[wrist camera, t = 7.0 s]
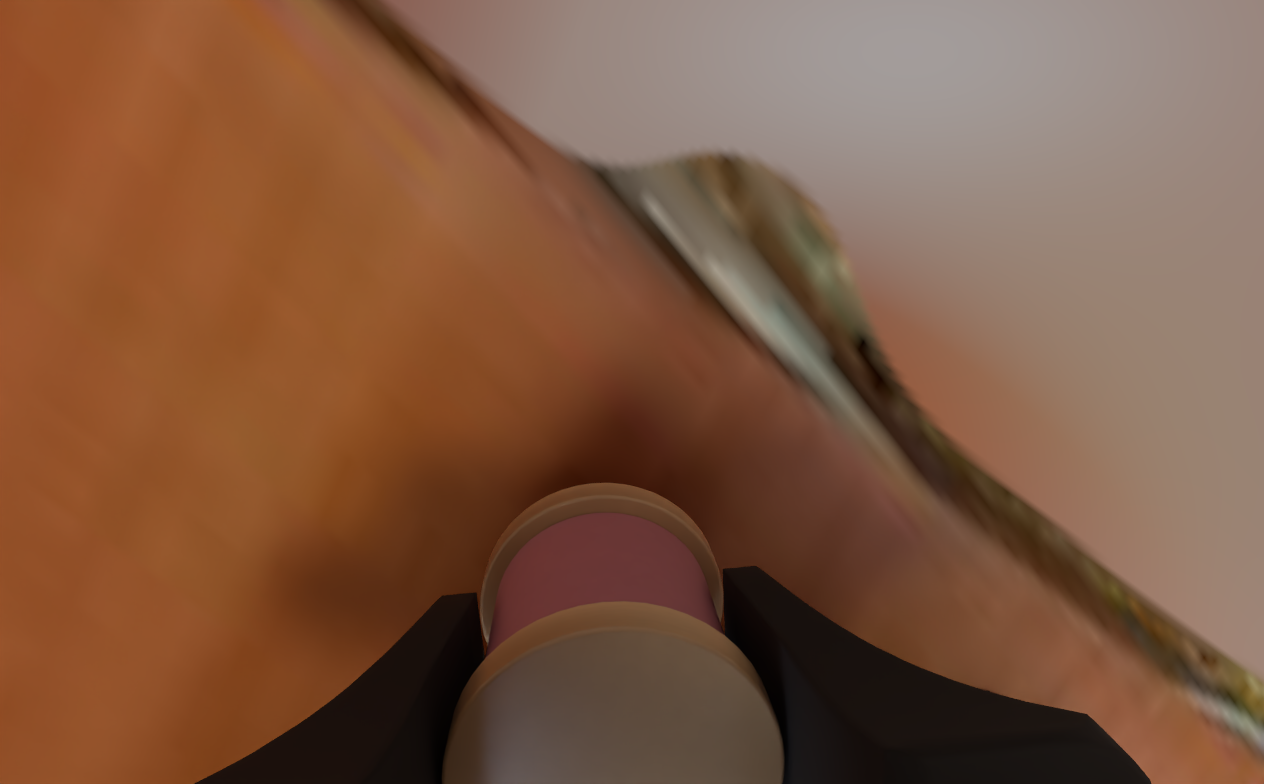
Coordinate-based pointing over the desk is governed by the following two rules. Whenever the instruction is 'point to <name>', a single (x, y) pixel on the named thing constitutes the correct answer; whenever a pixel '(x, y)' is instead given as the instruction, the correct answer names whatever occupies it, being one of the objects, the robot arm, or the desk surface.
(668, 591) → the spool
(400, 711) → the robot arm
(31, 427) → the desk surface
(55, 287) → the desk surface
